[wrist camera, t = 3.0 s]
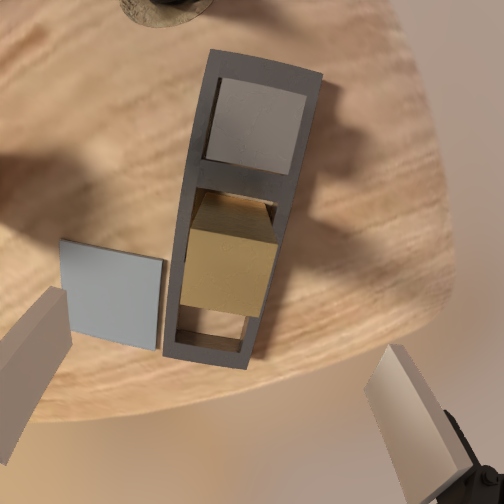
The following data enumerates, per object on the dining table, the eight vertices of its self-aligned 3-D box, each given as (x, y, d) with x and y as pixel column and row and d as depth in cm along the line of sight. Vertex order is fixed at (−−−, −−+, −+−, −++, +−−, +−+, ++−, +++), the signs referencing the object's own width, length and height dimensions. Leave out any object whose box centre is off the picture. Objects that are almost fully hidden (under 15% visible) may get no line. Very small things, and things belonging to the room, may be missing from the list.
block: (227, 91, 22) (222, 77, 15) (287, 104, 22) (306, 96, 16) (214, 149, 23) (205, 158, 17) (274, 161, 24) (288, 175, 17)
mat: (61, 238, 25) (59, 240, 25) (163, 259, 26) (162, 261, 26) (67, 326, 29) (66, 329, 28) (155, 348, 30) (155, 351, 30)
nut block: (206, 192, 24) (190, 228, 16) (264, 203, 25) (278, 244, 17) (197, 246, 26) (179, 304, 18) (252, 256, 27) (258, 317, 18)
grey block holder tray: (212, 54, 20) (210, 48, 18) (316, 77, 21) (323, 73, 19) (166, 343, 30) (162, 356, 28) (245, 356, 31) (246, 369, 29)
